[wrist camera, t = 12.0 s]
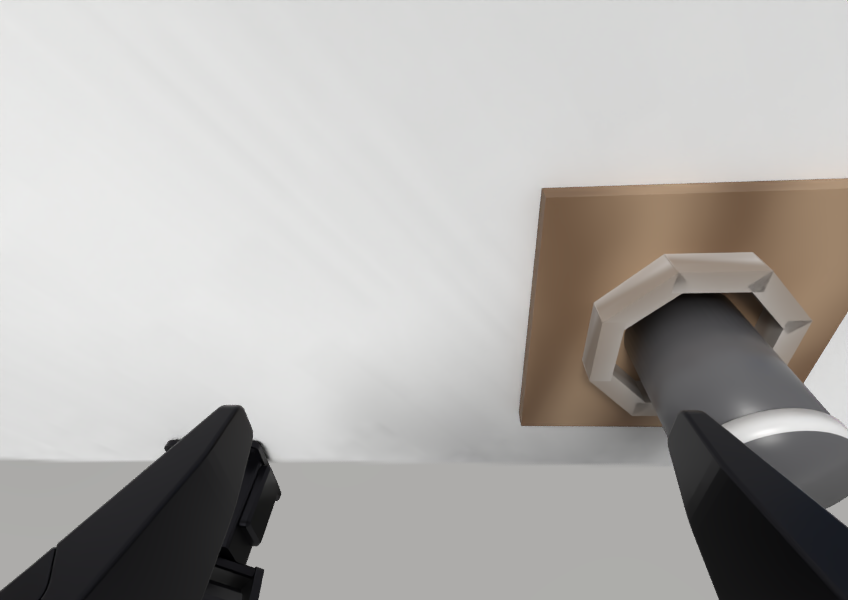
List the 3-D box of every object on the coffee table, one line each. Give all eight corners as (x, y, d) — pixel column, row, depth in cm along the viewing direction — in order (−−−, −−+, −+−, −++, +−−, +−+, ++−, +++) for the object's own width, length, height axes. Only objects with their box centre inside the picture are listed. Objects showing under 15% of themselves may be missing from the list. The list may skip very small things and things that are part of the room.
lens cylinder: (612, 371, 23) (676, 524, 17) (634, 287, 20) (722, 433, 14) (718, 370, 23) (826, 526, 16) (756, 284, 20) (907, 434, 13)
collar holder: (519, 412, 27) (524, 447, 25) (541, 188, 19) (552, 213, 17) (765, 413, 26) (792, 450, 24) (903, 176, 18) (962, 202, 16)
